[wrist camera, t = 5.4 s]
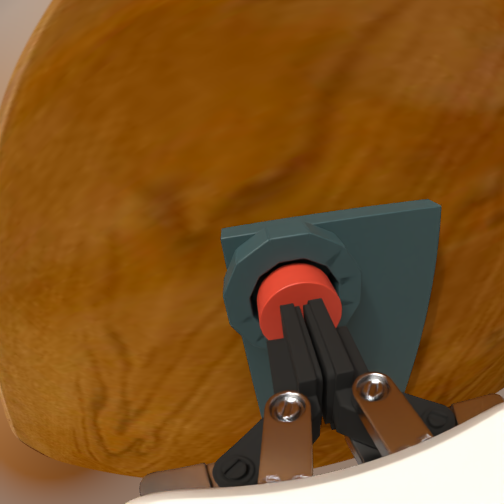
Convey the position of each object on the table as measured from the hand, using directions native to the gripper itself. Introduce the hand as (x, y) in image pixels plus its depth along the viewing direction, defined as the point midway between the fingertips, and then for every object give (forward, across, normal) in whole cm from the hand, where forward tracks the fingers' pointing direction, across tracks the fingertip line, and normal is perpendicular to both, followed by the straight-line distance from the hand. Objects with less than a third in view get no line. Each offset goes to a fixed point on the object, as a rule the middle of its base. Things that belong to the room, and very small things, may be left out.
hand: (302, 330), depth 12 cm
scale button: (+3, 0, 0) cm, 3 cm away
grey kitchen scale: (+5, -3, +5) cm, 8 cm away
